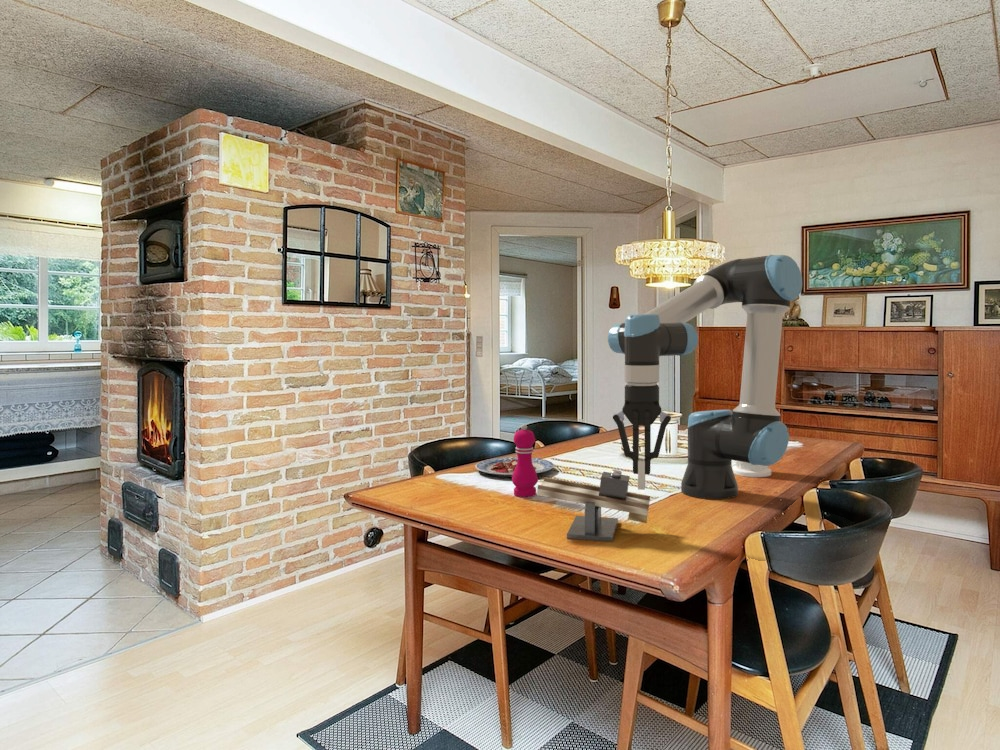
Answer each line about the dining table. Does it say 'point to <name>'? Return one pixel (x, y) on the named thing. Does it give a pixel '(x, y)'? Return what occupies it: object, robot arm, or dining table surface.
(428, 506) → the dining table surface
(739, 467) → the decorative container
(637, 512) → the beam
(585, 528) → the stand
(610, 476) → the block
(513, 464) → the ceramic plate
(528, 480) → the pepper mill
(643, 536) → the dining table surface
